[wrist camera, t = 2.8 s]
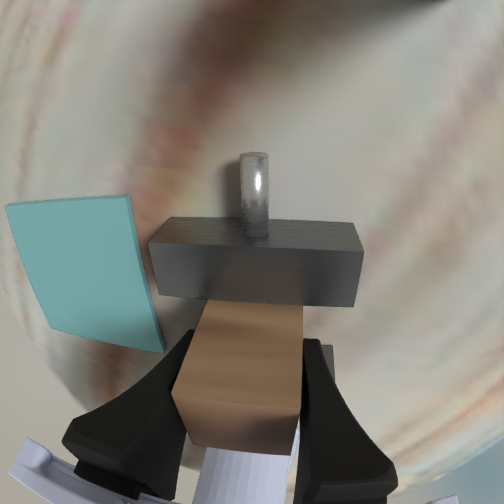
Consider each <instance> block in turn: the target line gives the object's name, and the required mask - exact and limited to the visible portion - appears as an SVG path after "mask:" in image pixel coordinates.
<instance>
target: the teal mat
mask: <svg viewBox="0 0 504 504" xmlns="http://www.w3.org/2000/svg"><path fill="white" fill-rule="evenodd" d="M4 207H5V211H6V214H7V218H8V221H9V225H10V228H11V231H12V234H13V237H14V241H15V244H16V246H17V249H18V252H19V255H20V258H21V261H22V263H23V266H24V269H25V271H26V274H27V276H28V279H29V281H30V284H31V286H32V288H33V291H34V293H35V295H36V298H37V300H38V302H39V304H40V306H41V309H42V311H43V313H44V315H45V317H46V319H47V321H48V323H49V325H50V327H51V329H55V330H58V331H62V332H65V333H69V334H73V335H77V336H81V337H85V338H89V339H93V340H98V341H102V342H106V343H111V344H116V345H120V346H125V347H130V348H135V349H141V350H146V351H152V352H157V353H163V354H164V352H165V350H166V348H165V344H164V341H163V338H162V334H161V331H160V327H159V324H158V320H157V317H156V313H155V310H154V306H153V302H152V298H151V294H150V291H149V287H148V283H147V278H146V274H145V270H144V266H143V261H142V257H141V252H140V248H139V243H138V238H137V233H136V228H135V223H134V218H133V212H132V207H131V201H130V195H123V196H102V197H85V198H70V199H57V200H45V201H34V202H23V203H14V204H8V205H6V206H4Z"/></svg>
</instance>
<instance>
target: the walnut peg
mask: <svg viewBox="0 0 504 504" xmlns="http://www.w3.org/2000/svg"><path fill="white" fill-rule="evenodd" d="M302 352H303V306H302V305H282V304H264V303H248V302H234V301H221V300H208V301H207V303H206V306H205V308H204V311H203V313H202V316H201V318H200V321H199V323H198V326H197V328H196V331H195V333H194V336H193V338H192V341H191V343H190V346H189V348H188V351H187V353H186V356H185V358H184V361H183V363H182V366H181V369H180V371H179V374H178V376H177V379H176V381H175V384H174V387H173V389H172V392H171V394H172V397H173V399H174V402H175V404H176V407H177V409H178V412H179V414H180V416H181V419H182V421H183V423H184V426H185V428H186V430H187V432H188V435H189V437H190V439H191V441H192V443H193V444H194V445H200V446H205V447H211V448H217V449H224V450H231V451H239V452H248V453H257V454H269V455H284V456H291V452H292V447H293V443H294V438H295V433H296V429H297V424H298V419H299V414H300V409H301V387H302Z"/></svg>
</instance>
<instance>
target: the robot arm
mask: <svg viewBox="0 0 504 504" xmlns="http://www.w3.org/2000/svg"><path fill="white" fill-rule="evenodd" d="M195 331H196V330H192V329H190V330H188V331H187V333H186V334H185V335H184V336H183V337H182V338H181V340H180V341H179V342H178V343H177V344H176V345H175V346H174V347H173V349H172V350H171V351H170V352H169V353H168V354H167V355H166V356H165V357H164V358H163V359H162V360H161V361H160V362H159V363H158V364H157V365H156V366H155V367H154V368H153V369H152V370H151V371H150V372H149V373H148V374H147V375H146V376H144V377H143V378H142V379H141V380H140V381H138V382H137V383H136V384H135V385H133V386H132V387H131V388H129V389H128V390H127V391H125V392H124V393H122V394H121V395H119V396H118V397H116V398H115V399H113V400H112V401H110V402H108V403H106V404H104V405H103V406H101V407H99V408H97V409H95V410H93V411H91V412H89V413H86V414H84V415H81V416H79V417H77V418H74V419H73V420H72V422H71V423H70V425H69V427H68V429H67V431H66V433H65V435H64V437H63V439H62V444H63V445H64V446H65V447H66V448H67V449H68V450H69V451H70V452H71V453H72V454H73V455H74V456H75V457H77V458H78V459H79V461H78V463H77V465H76V466H74V465H71V464H69V463H68V462H65V461H64V460H62V459H59V458H58V457H56V456H54V455H53V454H52V453H51V452H50V451H49V450H47V449H46V448H45V447H43V446H42V445H40V444H38V443H37V442H35V441H33V440H32V439H30V438H28V437H27V438H26V439H25V441H24V443H23V445H22V447H21V449H20V450H19V452H18V454H17V456H16V458H15V460H14V462H13V464H12V466H11V468H10V470H9V471H8V473H9V475H11V476H12V477H13V478H15V479H16V480H18V481H19V482H20V483H22V484H23V485H25V486H26V487H27V488H29V489H30V490H32V491H33V492H35V493H36V494H38V495H39V496H41V497H42V498H44V499H45V500H47V501H48V502H50V503H52V504H128V503H129V504H180V503H175V502H172V501H171V500H173V499H175V492H176V485H177V478H178V472H179V466H180V461H181V456H182V451H183V446H184V442H185V437H186V433H187V430H186V428H185V426H184V423H183V421H182V419H181V416H180V414H179V412H178V409H177V407H176V404H175V402H174V399H173V397H172V394H171V392H172V389H173V387H174V384H175V381H176V379H177V376H178V374H179V371H180V369H181V366H182V363H183V361H184V358H185V356H186V353H187V351H188V348H189V346H190V343H191V341H192V338H193V336H194V333H195ZM299 420H300V444H299V455H298V466H297V476H296V485H295V493H294V501H293V504H387V495H388V494H390V493H391V492H392V491H394V490H395V489H396V488H397V486H398V478H397V474H396V470H395V467H394V464H393V462H392V461H391V460H390V459H389V458H388V457H387V456H386V455H385V454H384V453H383V452H382V451H381V450H380V449H379V448H378V447H377V446H376V445H375V443H374V442H373V441H372V440H371V439H370V438H369V436H368V435H367V434H366V432H365V431H364V430H363V428H362V427H361V426H360V425H359V423H358V422H357V420H356V419H355V417H354V416H353V414H352V413H351V411H350V410H349V408H348V406H347V405H346V403H345V401H344V399H343V398H342V396H341V394H340V392H339V390H338V388H337V386H336V384H335V382H334V380H333V377H332V375H331V373H330V370H329V368H328V365H327V363H326V360H325V357H324V354H323V351H322V347H321V343H320V340H318V339H306V338H303V352H302V387H301V409H300V414H299ZM298 434H299V430H298V429H296V433H295V438H294V443H293V447H292V452H291V456H284V455H269V454H257V453H248V452H239V451H231V450H224V449H217V448H211V447H207V448H206V452H205V456H204V460H203V464H202V468H201V472H200V475H199V479H198V484H197V487H196V491H195V495H194V498H193V502H192V504H285V498H286V489H287V479H288V469H289V468H290V467H291V463H292V459H293V455H294V451H295V447H296V443H297V438H298ZM426 504H458V498H457V495H452V496H448V497H445V498H441V499H437V500H434V501H431V502H428V503H426Z"/></svg>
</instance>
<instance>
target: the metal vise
mask: <svg viewBox="0 0 504 504" xmlns="http://www.w3.org/2000/svg"><path fill="white" fill-rule="evenodd" d="M240 178H241V203H242V218H203V217H171V218H170V219H169V220H168V221H167V222H166V223H165V224H164V225H163V226H162V227H161V229H160V230H159V231H158V232H157V233H156V234H155V235H154V236H153V237H152V239H151V240H150V241H149V242H148V245H149V250H150V255H151V260H152V265H153V269H154V274H155V278H156V283H157V287H158V291H159V295H165V296H175V297H185V298H196V299H208V300H221V301H234V302H248V303H264V304H282V305H302V306H328V307H354V303H355V298H356V293H357V288H358V283H359V278H360V273H361V267H362V262H363V256H364V250H363V247H362V244H361V242H360V239H359V236H358V234H357V231H356V229H355V226H354V224H353V223H344V222H324V221H303V220H278V219H269V200H268V154H267V153H262V152H248V153H243V154H240ZM321 347H322V351H323V354H324V357H325V360H326V363H327V365H328V368H329V370H330V373H331V375H332V377H333V380H334V382H335V372H334V357H333V345H321Z"/></svg>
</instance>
